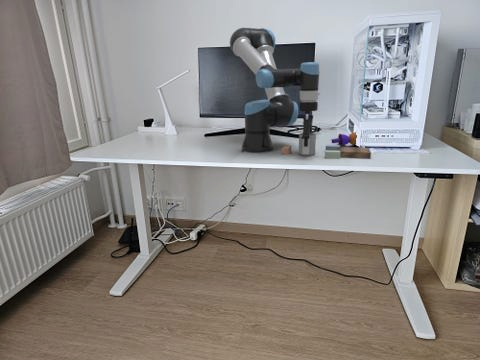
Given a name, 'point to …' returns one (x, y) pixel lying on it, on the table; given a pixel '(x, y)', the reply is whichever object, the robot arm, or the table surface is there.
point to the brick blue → (333, 147)
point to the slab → (355, 152)
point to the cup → (311, 144)
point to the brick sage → (332, 154)
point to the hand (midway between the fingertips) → (307, 150)
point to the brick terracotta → (286, 150)
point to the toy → (345, 139)
